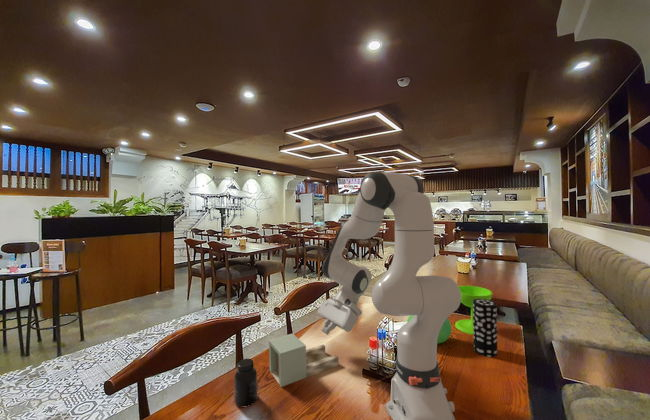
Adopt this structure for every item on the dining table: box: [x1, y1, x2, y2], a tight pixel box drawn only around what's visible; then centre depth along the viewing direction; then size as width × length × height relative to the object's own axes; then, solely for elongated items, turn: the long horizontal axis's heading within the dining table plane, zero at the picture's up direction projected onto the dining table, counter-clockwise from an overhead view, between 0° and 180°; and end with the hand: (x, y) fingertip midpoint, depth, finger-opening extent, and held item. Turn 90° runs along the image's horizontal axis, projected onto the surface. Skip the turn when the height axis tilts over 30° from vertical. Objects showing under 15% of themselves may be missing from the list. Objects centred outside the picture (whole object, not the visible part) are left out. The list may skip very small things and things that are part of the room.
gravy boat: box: [406, 315, 452, 345], centre depth 121 cm, size 18×17×15 cm
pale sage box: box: [268, 333, 308, 388], centre depth 99 cm, size 10×11×11 cm
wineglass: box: [454, 285, 493, 336], centre depth 132 cm, size 16×16×18 cm
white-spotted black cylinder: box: [472, 299, 498, 358], centre depth 111 cm, size 8×8×20 cm
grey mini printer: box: [270, 344, 340, 388], centre depth 102 cm, size 23×11×4 cm, turn 121°
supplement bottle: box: [233, 358, 258, 407], centre depth 86 cm, size 7×7×12 cm
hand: (324, 332), depth 106 cm, fingers closed
